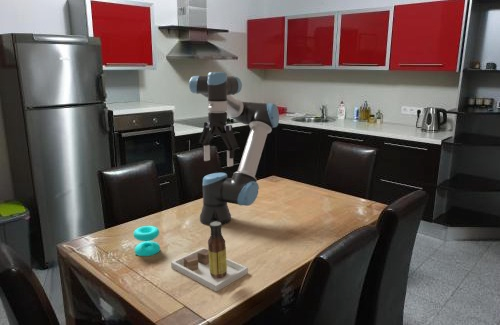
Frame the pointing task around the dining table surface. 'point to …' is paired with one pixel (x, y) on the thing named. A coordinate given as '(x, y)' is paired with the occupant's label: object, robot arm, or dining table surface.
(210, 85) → the robot arm
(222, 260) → the sauce bottle
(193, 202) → the dining table surface
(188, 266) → the walnut block
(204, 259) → the walnut block
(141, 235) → the donuts
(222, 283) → the tray
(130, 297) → the dining table surface
